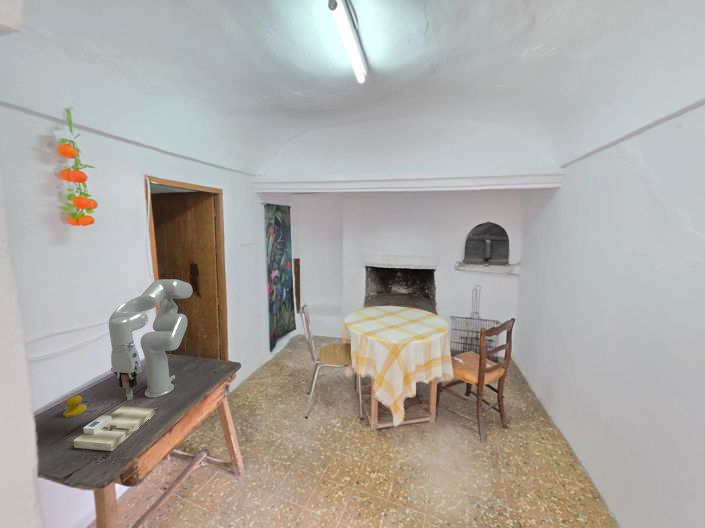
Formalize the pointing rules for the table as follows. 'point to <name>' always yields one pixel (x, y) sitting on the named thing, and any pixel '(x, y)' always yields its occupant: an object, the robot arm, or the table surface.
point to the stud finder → (97, 424)
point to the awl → (127, 385)
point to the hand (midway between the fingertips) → (128, 385)
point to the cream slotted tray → (115, 429)
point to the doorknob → (74, 406)
